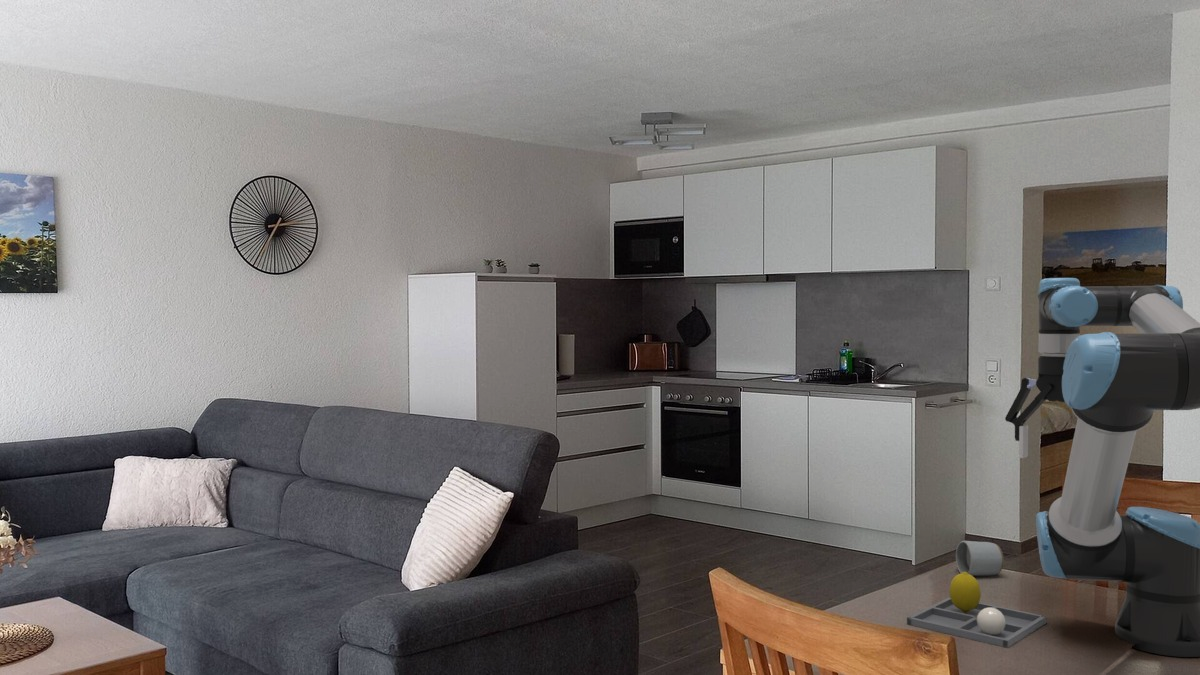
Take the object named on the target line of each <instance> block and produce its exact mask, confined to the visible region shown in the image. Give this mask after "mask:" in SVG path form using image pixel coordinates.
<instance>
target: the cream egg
mask: <svg viewBox="0 0 1200 675" xmlns="http://www.w3.org/2000/svg"><path fill="white" fill-rule="evenodd" d="M977 624H978V627H979V628H980V630H981V631H982V632H984V633H985V634H988V635H998V634H1000V633H1001V632H1002V631H1003V630H1004V628H1005V625H1006V621H1005V617H1004V615H1003V614H1002V613H1001V612H1000V611H999V610H998V609H995V608H992V607H988V608H984V609H982V610H981V611H980V612H979V613H978V616H977Z"/></svg>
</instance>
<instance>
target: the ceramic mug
mask: <svg viewBox="0 0 1200 675" xmlns="http://www.w3.org/2000/svg"><path fill="white" fill-rule="evenodd" d="M1004 559H1005V558H1004V554H1003V551H1002V549H1001V547H1000V546H999V545H998V544H996V543H993V542H990V541H975V540H973V541H971V540H961V541H960V542H959V543H958V544H957V546H956V550H955V561H956V567H957V569H958V572H959V574H961V573H963V572H967V573H968V574H970V575H972V576H973V577H979V576H995V575H998V574H1000V573H1001V572H1002V570H1003V567H1004Z"/></svg>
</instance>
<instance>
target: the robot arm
mask: <svg viewBox="0 0 1200 675" xmlns="http://www.w3.org/2000/svg"><path fill="white" fill-rule="evenodd" d="M1037 298H1038V345H1037V347H1038V348H1037V350H1038V351H1037V352H1038V353H1039V354H1041V355H1039V357H1038V359H1037V360H1038V363H1037V365H1038V370H1037V374H1038V377H1037V379H1036V378H1035V379H1033V378H1032V377H1023V378H1022V379H1021V384H1020V390H1019V391H1018V393H1017V394H1016V397H1015V399H1014V401H1012V404H1011V407H1010V408H1009V410H1008V411H1007V414H1006V416H1005V417H1004V419H1005V422H1007V423H1012V424H1013V426H1014V440H1015V441H1016V442H1019V443H1018V448H1019V451H1018V455H1019V457H1018V458H1020V459H1024V458H1027V457H1029V425H1028V424H1027V425H1026V422H1027V421H1028V420H1029V419H1030V417H1032V415H1033V414H1034V413H1035V412H1036V411H1037V410H1038V409H1039V408H1040V407H1041V406H1042V405H1043V404H1044V403H1046V402H1047V401H1048V402H1056V401H1057V402H1060V403H1065V404H1066V405H1067V406H1068V407H1069V408H1071V411H1072V412H1073V414H1074V416H1075V417H1076V418H1077V420H1076V425H1075V430H1074V434H1073V440H1072V444H1071V449H1070V455H1069V457H1068V458H1069V459H1068V464H1067V469H1066V474H1065V478H1064V479H1065V480H1064V484H1063V488H1062V489H1063V490H1062V493H1061V496H1060V497H1058V498H1057V499H1056V500H1054V501H1053V502H1052V503H1051V504H1050V507H1049V509H1048V511H1047V510H1043V511H1040V512H1038V513H1036V515H1035V526H1036V528H1035V529H1036V537H1037V538H1036V539H1037V547H1038V553H1039V554H1038V555H1039V559H1040V566H1041V567H1042V569H1041V570H1042V571H1043V573H1044V574H1045V575H1046V576H1048V577H1051V578H1059V579H1064V580H1078V581H1079V580H1080V581H1082V580H1083V581H1099V582H1100V581H1103V582H1117V583H1118V582H1119V583H1120V582H1121V583H1126V587H1125V590H1126V591H1125V592H1126V594H1125V598H1124V599H1123V603H1122V605H1121V607H1120V611H1119V612H1118V615H1117V618H1116V621H1115V624H1114V633H1115V635H1116V636H1117V637H1118V638H1120V639H1122V640H1124V641H1125V642H1126V641H1127V642H1128V643H1131V644H1133V645H1132V646H1131V648H1132V649H1136V650H1139V651H1142V652H1146V653H1149V654H1150V653H1152V654H1156V655H1160V656H1161V655H1162V656H1168V657H1178V658H1179V657H1180V658H1197V657H1200V523H1199V522H1198V521H1197V520H1196V519H1194V518H1191V517H1190V516H1187V515H1184V514H1180V513H1177V512H1173V511H1169V510H1165V509H1159V508H1152V507H1146V506H1129V507H1127V510H1126V511H1125V515H1121V514H1119V512H1118V511H1117V509H1118V506H1119V505H1118V504H1119V500H1120V498H1121V494H1122V489H1123V484H1124V482H1125V477H1126V474H1127V470H1128V467H1129V462H1130V458H1131V454H1132V451H1133V448H1134V444H1135V439H1136V436H1137V431H1140V430H1142V429H1144V428H1145V427H1146V426H1147V425H1148V424H1149V423H1150V422H1151V421H1152V418H1153V414H1154V411H1192V410H1198V409H1200V322H1199V321H1197V320H1196V319H1195V318H1193V316H1191V314H1189V313H1187V311H1185V310H1184V301H1183V296H1182V294H1181V291H1180V289H1179V288H1177V287H1176V286H1172V285H1170V286H1169V285H1162V284H1161V285H1160V284H1154V285H1132V286H1129V285H1125V286H1124V285H1123V286H1120V285H1119V286H1116V285H1115V286H1112V285H1111V286H1110V285H1109V286H1108V285H1107V286H1104V285H1103V286H1100V285H1099V286H1091V285H1090V286H1081V282H1080V280H1079V279H1078V278H1076V277H1049V278H1043V279H1041V280H1040V281H1039V285H1038V293H1037ZM1081 327H1134V328H1135V329H1136V330H1137V331H1138V332H1139V333H1114V332H1109V331H1102V332H1100V333H1085V334H1080V333H1081V332H1080V331H1081V330H1080V328H1081ZM1035 386H1036V388H1037V389H1038V390H1039V393H1038V394H1037V395H1036V396H1035V397H1034V399H1033V400H1032V401H1031V402H1030V404H1028V406H1027V407H1026V408H1025V409H1024V410H1023V411H1022V412H1021V413H1020V411H1021V409H1022V407H1023V406H1024V403H1025V402H1026V400H1027V398H1028V396H1029V394H1030V392H1031V390H1032V389H1034V388H1035ZM1019 413H1020V414H1019ZM1018 414H1019V415H1018Z"/></svg>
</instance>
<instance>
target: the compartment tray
mask: <svg viewBox="0 0 1200 675" xmlns="http://www.w3.org/2000/svg"><path fill="white" fill-rule="evenodd" d="M988 607H992V608H995V609H998V610H999V611H1000V612H1001V613H1002V614H1003V615H1004V617H1005V621H1006V625H1005V628H1004V630H1003V631H1002V632H1001V633H1000V634H998V635H988V634H985V633H984V632H982V631H981V630H980V628H979V627H978V624H977V616H978V613H979V612H980V611H981V610H982V609H984V608H988ZM1047 623H1048V617H1047V615H1042V614H1036V613H1033V612H1028V611H1022V610H1017V609H1013V608H1007V607H1003V606H997V605H994V604H993V605H992V604H988V603H984V602H981V601H979V604H978V605H977V607H976V608H974V609H973V610H970V611H969V612H967V613H963V612H962V611H961V610H960V609H958V608H957V607H956V606H955V605H954V604H953V603H952V601H951V598H950V596H948V597H947V598H944V599H943V600H940V601H938V602H936V603H934V604H932V605H930V606H928V607H926V608H924V609H922V610H920V611H918V612H916V613H914V614H912V615H910V616H908V617H906V625H909V626H913V627H916V628H921V629H926V630H929V631H933V632H937V633H943V634H947V635H951V636H955V637H959V638H963V639H967V640H972V641H977V642H980V643H984V644H985V643H986V644H989V645H992V646H993V645H994V646H998V647H1002V648H1006V649H1009V648H1010V647H1012V646H1013V645H1015V644H1017V643H1018V642H1020V641H1021V640H1023V639H1024V638H1026V637H1027V636H1029V635H1031V634H1032V633H1034V632H1035V631H1037V630H1038V629H1040V628H1042V627H1043V626H1044V625H1046V624H1047Z"/></svg>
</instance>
